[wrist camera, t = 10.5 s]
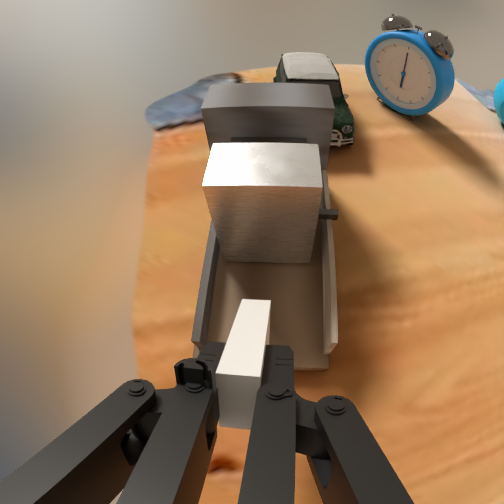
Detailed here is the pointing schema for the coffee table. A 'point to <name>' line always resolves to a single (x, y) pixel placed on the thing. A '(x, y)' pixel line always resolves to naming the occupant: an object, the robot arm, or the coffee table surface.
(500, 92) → the blue round piece
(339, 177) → the coffee table surface
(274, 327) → the frame
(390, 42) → the alarm clock
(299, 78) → the miniature car
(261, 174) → the carriage
